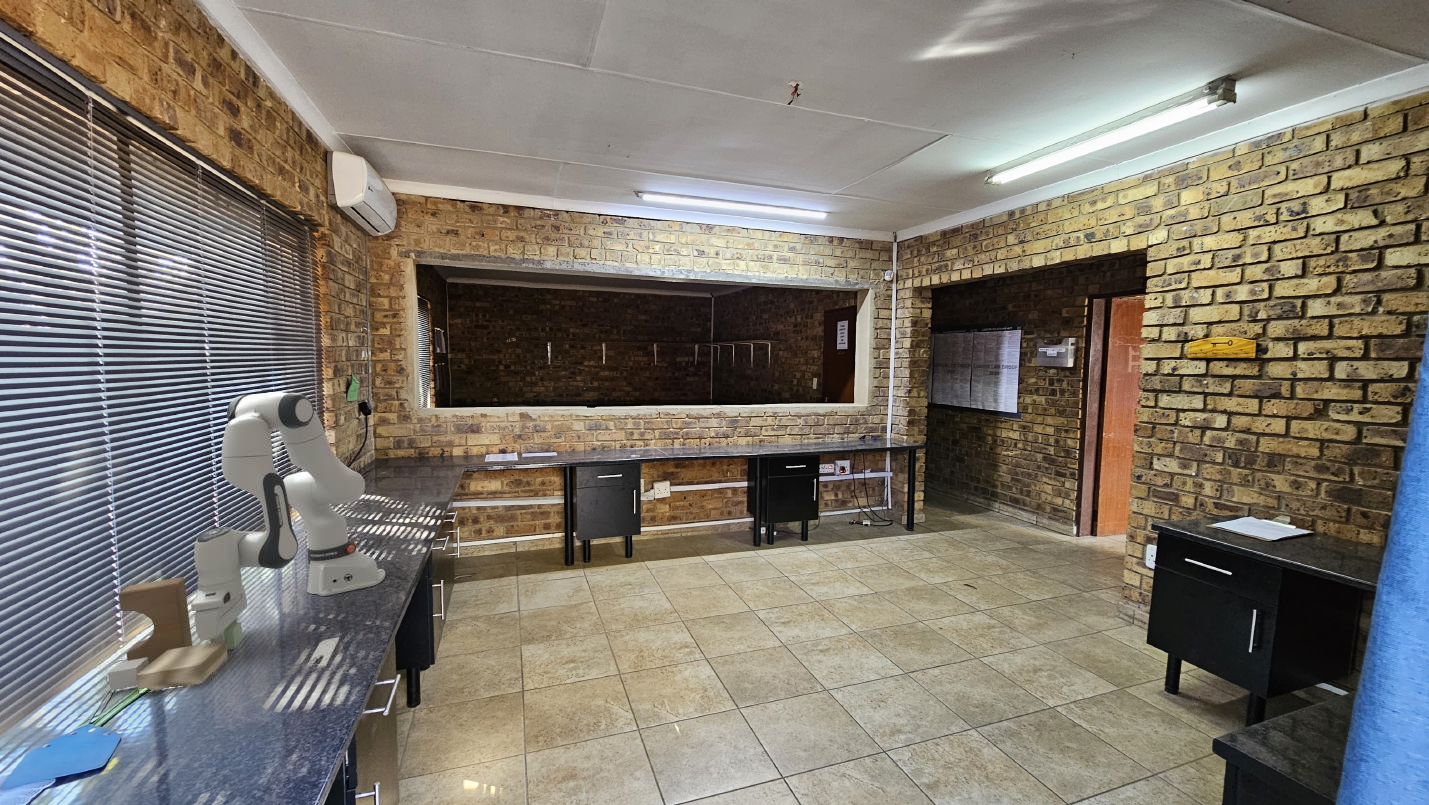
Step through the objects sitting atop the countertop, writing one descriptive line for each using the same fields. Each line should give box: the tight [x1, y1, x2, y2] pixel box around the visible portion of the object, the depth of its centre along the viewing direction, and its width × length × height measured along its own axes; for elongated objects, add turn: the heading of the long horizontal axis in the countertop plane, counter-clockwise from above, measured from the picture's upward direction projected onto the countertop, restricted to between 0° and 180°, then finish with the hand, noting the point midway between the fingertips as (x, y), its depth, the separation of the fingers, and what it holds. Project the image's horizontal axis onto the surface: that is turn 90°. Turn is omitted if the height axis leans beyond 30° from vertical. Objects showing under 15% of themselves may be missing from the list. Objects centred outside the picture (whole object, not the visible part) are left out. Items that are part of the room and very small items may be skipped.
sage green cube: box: [209, 621, 244, 651], centre depth 153 cm, size 5×5×5 cm
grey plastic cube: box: [107, 657, 149, 692], centre depth 135 cm, size 5×5×5 cm
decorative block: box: [118, 576, 193, 664], centre depth 146 cm, size 11×6×20 cm, turn 115°
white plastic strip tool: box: [310, 637, 340, 669], centre depth 147 cm, size 5×15×1 cm, turn 22°
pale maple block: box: [136, 641, 229, 691], centre depth 139 cm, size 12×12×5 cm
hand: (226, 640), depth 153 cm, fingers closed on sage green cube, 5 cm apart
